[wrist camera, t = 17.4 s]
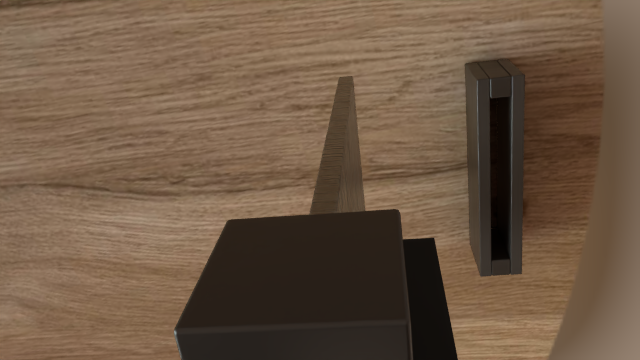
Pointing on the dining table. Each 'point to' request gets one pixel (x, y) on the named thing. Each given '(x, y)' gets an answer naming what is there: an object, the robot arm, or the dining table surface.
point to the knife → (307, 273)
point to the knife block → (506, 240)
